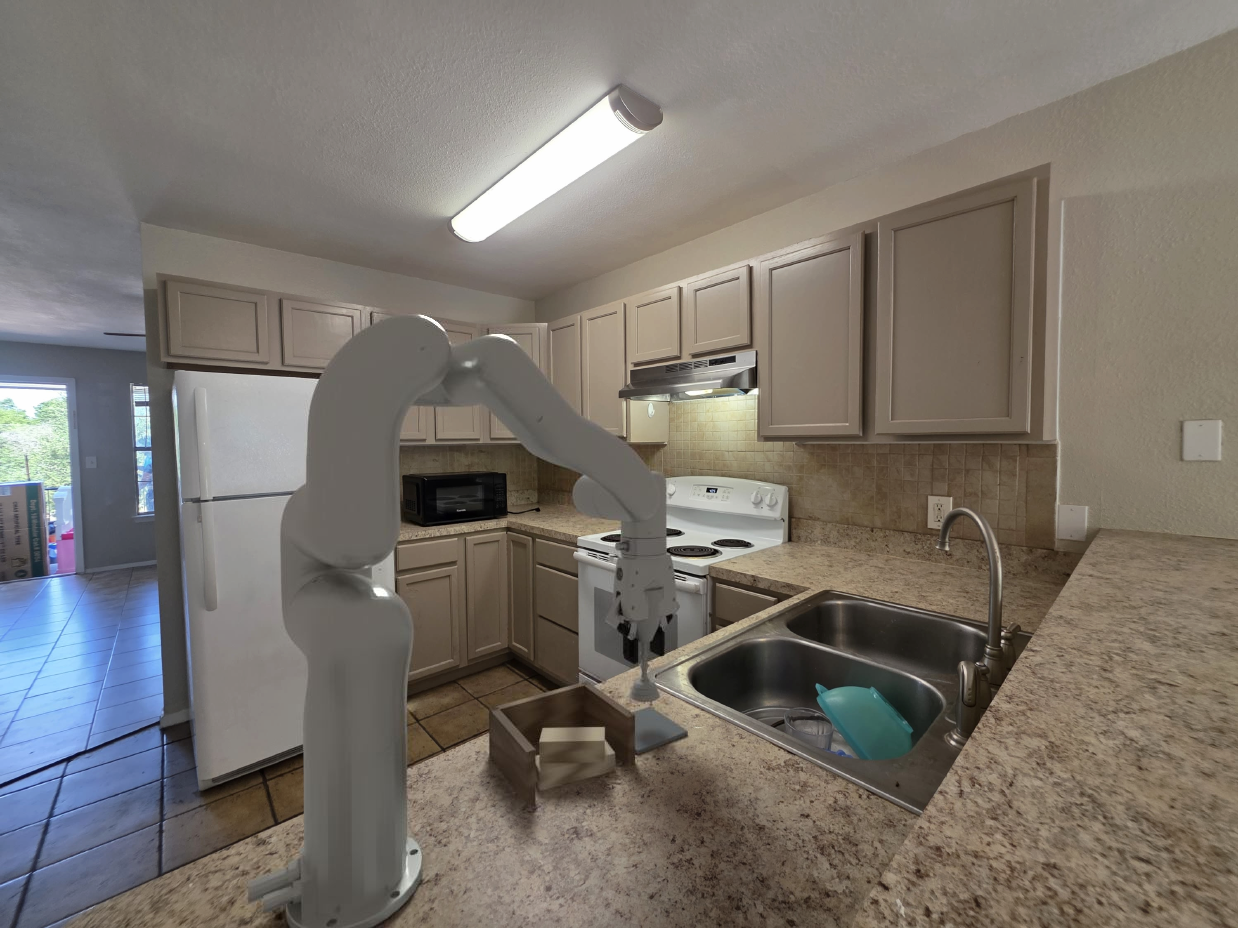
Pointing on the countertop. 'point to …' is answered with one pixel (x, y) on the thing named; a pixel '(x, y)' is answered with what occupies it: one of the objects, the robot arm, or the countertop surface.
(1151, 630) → the countertop surface
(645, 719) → the slate tile
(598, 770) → the offcut lower
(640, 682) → the chalice
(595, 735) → the offcut upper
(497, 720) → the brown wooden u-shaped frame
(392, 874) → the robot arm
